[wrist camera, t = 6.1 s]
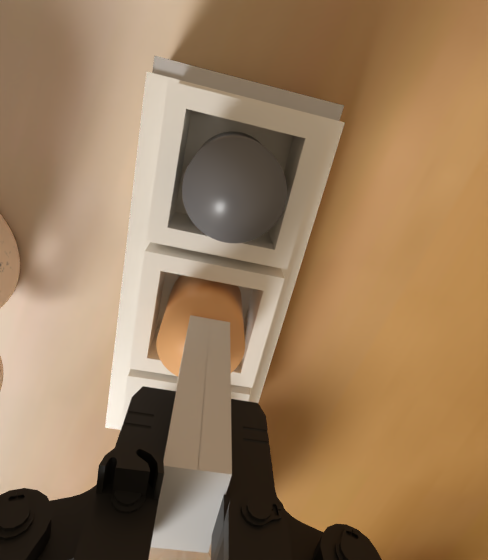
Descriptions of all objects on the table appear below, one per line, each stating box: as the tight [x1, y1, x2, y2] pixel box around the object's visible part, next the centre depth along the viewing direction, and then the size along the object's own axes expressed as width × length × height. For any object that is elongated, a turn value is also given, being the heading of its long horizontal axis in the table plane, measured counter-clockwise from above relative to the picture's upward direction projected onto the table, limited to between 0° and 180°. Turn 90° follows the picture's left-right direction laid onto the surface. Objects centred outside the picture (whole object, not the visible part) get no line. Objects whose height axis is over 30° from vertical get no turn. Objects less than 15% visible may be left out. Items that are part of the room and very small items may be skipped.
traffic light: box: [105, 56, 345, 431], centre depth 20 cm, size 8×24×6 cm, turn 167°
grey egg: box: [182, 131, 287, 243], centre depth 14 cm, size 3×3×4 cm
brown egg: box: [156, 275, 245, 377], centre depth 17 cm, size 3×3×4 cm
